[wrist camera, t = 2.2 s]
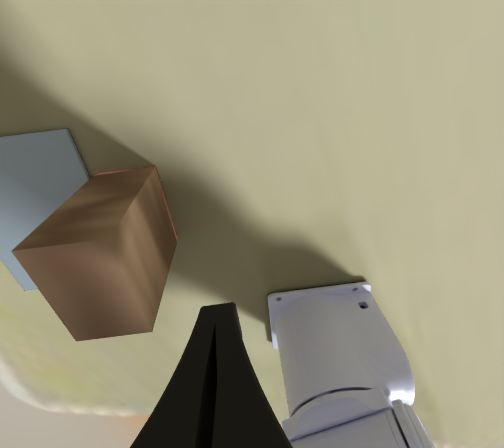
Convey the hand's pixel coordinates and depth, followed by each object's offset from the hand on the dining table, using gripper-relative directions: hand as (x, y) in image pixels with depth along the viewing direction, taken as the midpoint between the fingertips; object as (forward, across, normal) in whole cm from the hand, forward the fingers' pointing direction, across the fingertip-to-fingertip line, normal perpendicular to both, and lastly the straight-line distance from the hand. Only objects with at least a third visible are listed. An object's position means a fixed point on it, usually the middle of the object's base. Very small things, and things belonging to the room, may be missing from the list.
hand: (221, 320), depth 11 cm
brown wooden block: (+10, +6, 0) cm, 12 cm away
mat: (+10, +13, 0) cm, 17 cm away
